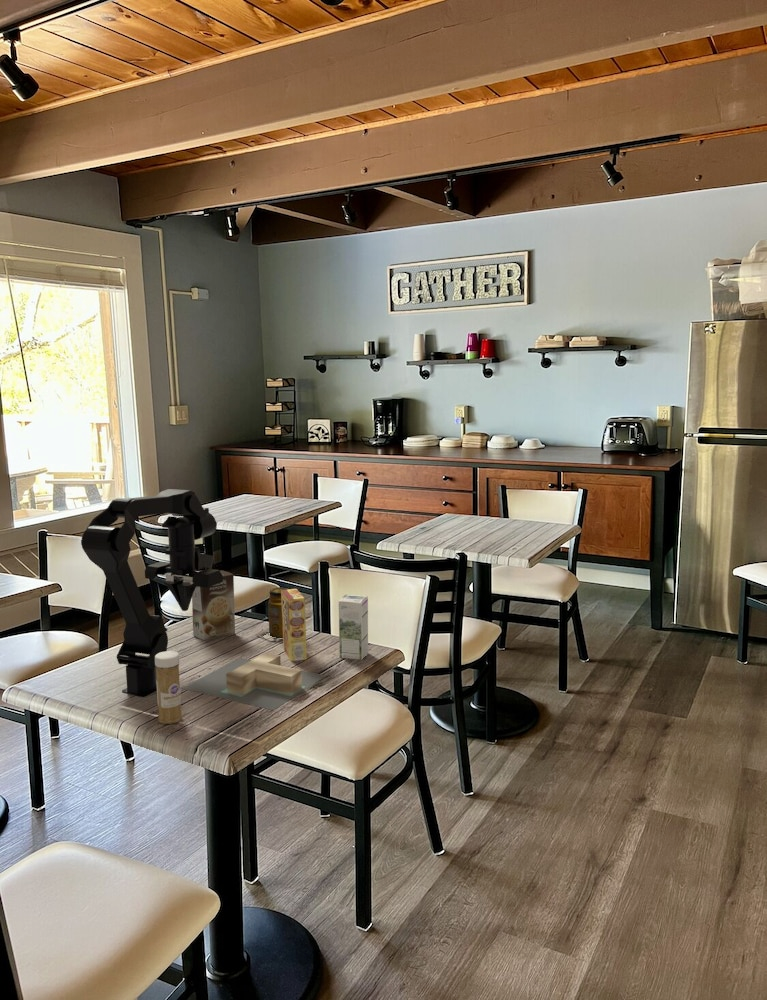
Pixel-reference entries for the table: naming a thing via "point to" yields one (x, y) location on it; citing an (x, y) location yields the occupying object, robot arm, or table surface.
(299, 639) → the candy box
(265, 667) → the t block
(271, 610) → the condiment
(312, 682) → the push mat
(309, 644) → the table surface
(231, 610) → the coffee box
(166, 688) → the sprinkles bottle
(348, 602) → the syrup box
